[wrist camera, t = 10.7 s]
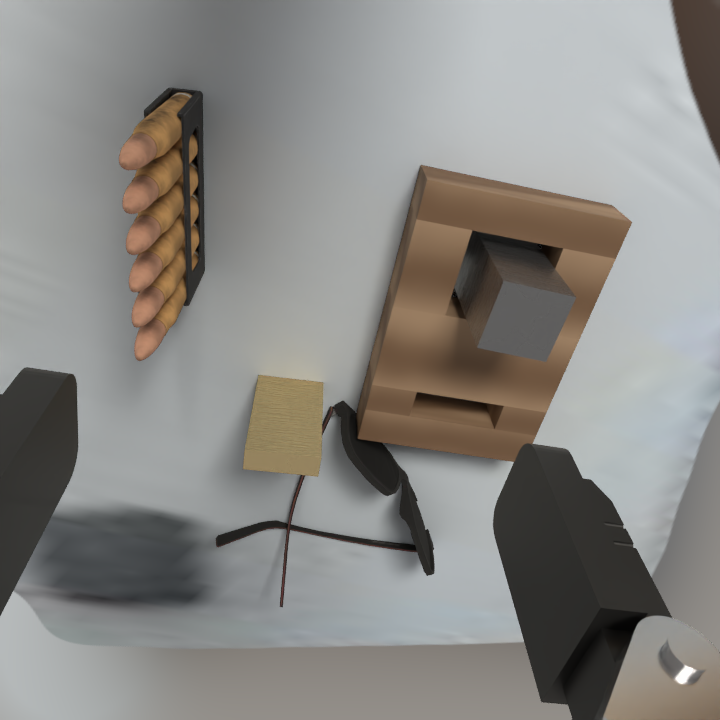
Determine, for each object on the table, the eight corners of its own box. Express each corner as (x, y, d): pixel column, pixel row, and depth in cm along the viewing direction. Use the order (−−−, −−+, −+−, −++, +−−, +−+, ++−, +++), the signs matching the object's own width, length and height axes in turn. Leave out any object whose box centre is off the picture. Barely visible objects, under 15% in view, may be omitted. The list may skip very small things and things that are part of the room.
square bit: (473, 226, 39) (503, 280, 32) (534, 240, 39) (576, 297, 33) (453, 284, 41) (476, 347, 34) (511, 297, 41) (546, 362, 35)
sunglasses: (187, 461, 48) (173, 509, 44) (358, 389, 45) (361, 433, 41) (295, 590, 56) (292, 641, 52) (446, 536, 53) (456, 585, 49)
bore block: (420, 164, 37) (427, 179, 34) (612, 205, 38) (632, 222, 36) (356, 412, 46) (357, 438, 43) (513, 436, 47) (523, 463, 45)
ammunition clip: (204, 273, 40) (160, 378, 30) (174, 270, 40) (119, 375, 29) (202, 91, 34) (146, 142, 24) (167, 87, 34) (96, 137, 24)
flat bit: (258, 374, 44) (244, 449, 37) (323, 382, 44) (321, 457, 38) (256, 392, 45) (242, 468, 38) (320, 399, 45) (318, 476, 38)
